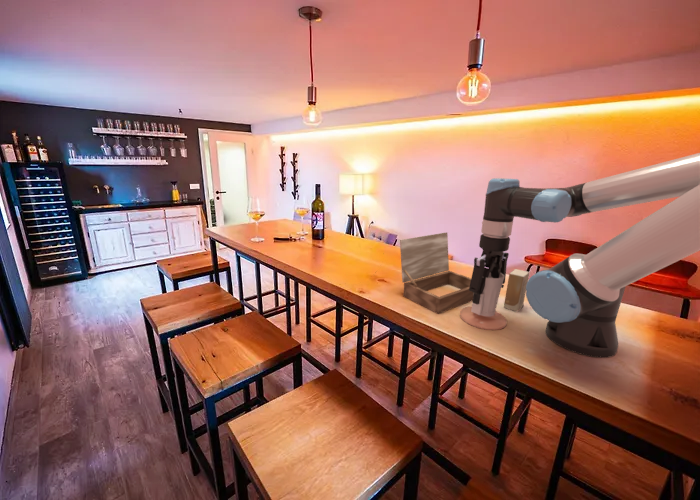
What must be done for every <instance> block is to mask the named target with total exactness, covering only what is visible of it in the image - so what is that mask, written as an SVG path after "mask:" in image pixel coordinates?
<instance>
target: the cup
mask: <svg viewBox="0 0 700 500" xmlns="http://www.w3.org/2000/svg"><path fill="white" fill-rule="evenodd" d="M504 277H505V276H504V275H503V274H502V273H500V275H499V278H493V277H491V272H490V273H489V276H488V278H487V277H486V281H485V287H484V290H483V294H484V298H483V305H482V311H481V315H482V316H494V315H495V311H496V312H497V307H496V306H497V305H498V302H499V298H500V294H501V289H502V288H501V287H502V285H504V284H503V281H504ZM505 278H506V277H505ZM473 295H474V293H473Z"/></svg>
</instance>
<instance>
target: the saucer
mask: <svg viewBox="0 0 700 500" xmlns="http://www.w3.org/2000/svg"><path fill="white" fill-rule="evenodd" d="M471 309H472V306H466V307H463V308H462V309H460V312H459V317H460V319H461V320H462V321H463V322H464V323H465V324H467V325H470V326H471V327H475V328H477V329H481V330H488V331H499V330H501V329H504V328H505V327H507V323H508V320H507V318H506V317H505V316H504V315H503V314H501V313H500V312H498V311H497V310H496V311H495V315H494V316H482V315H478V314H476V313H473V312H471Z"/></svg>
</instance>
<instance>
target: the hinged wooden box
mask: <svg viewBox="0 0 700 500" xmlns="http://www.w3.org/2000/svg"><path fill="white" fill-rule="evenodd" d="M448 236H449V235H448V232H441V233H434V234H428V235H423V236H417V237H415V236H414V237H410V238H402V239H399V247H400V248H399V249H400V260H401V261H400V263H401V267H400V268H401V279H402V280H401V281H402V283H403V294H402V297H404V298H406V299H408V300H409V301H412V302H414V303H416V304H418V305H420V306H421V307H424V308H426V309H427V310H430V311H431V312H434V313H436V314H438V315H439V314H442V313H444V312H446V311H449V310H452V309H454V308H456V307H460V306H462V305H465V304H466V303H470V302H473V292H471V291H469V287H470V282H471V278H472V277H468V276H466V275H463V274H460V273H457V272H454V271H451V270H450V268H449V267H450V266H449V265H450V262H449V240H448V239H449V238H448ZM448 285H450V286H452V287H454V288H457V289H458V290H455V291H451V292H449V293H447V294H444V295H440V296H438V295H436V294H434V293H432V292H429V291H431V290H433V289H438V288H441V287H443V286H448Z"/></svg>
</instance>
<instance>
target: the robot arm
mask: <svg viewBox="0 0 700 500" xmlns="http://www.w3.org/2000/svg"><path fill="white" fill-rule="evenodd" d="M673 198H674V200H672V201H670V202H669V203H667V204H666V205H664V206H663V207H661V208H659V209H657V210H656V211H654V212H653V213H651V214H649V215H648V216H646V217H644V218H643V219H641V220H640V221H638V222H637V223H635V224H633V225H632V226H630V227H629V228H627V229H626V230H624V231H622V232H621V233H619V234H617V235H615V236H614V237H612V238H611V239H609V240H608V241H606V242H605V243H603V244H601V245H599V246H598V247H597V248H594V249H593V250H591V251H590V252H589V253H587V254H583V253H573V254H570V255H569V256H568V257H566V258H564V259H563V260H561V261H560V262H558V263H556V264H555V265H553V266H552V267H551V268H549V269H546V270H541V271H537V272H536V273H534V274H533V275H531V276H530V277H529V278H528V282H527V285H526V293H525V297H526V300H527V302H528V305H529V306H530V307H531V309H532V310H533V311H534V312H535V313H536V314H537V316H540V317H541V318H542V319H544V320H547V323H546V327H545V331H544V333H545V335H546V336H547V337H548V339H549V340H551V341H552V342H553V343H555V344H556V345H558V346H559V347H562V348H564V349H566V350H568V351H571V352H573V353H577V354H580V355H584V356H587V357H592V358H600V359H601V358H610V357H611V358H612V357H613V356H615V355H616V354H617V351H618V347H619V339H618V332H617V326H616V320H617V317H618V314H619V311H620V306H621V303H622V300H623V296H624V293H625V290H626V286H629V285H631V284H633V283H636V282H637V281H640V280H641V279H643V278H645V277H647V276H649V275H652V274H653V273H656V272H658V271H660V270H662V269H665V268H667V267H668V266H670V265H673V264H674V263H677V262H679V261H680V260H683V259H685V258H687V257H689V256H691V255H694V254H696V253H698V252H699V251H700V152H697V153H694V154H693V153H692V154H690V155H687V156H686V155H685V156H683V157H678V158H675V159H671V160H667V161H663V162H659V163H657V164H652V165H648V166H645V167H641V168H640V167H639V168H637V169H634V170H633V169H632V170H629V171H625V172H621V173H618V174H614V175H611V176H610V175H609V176H605V177H602V178H598V179H594V180H591V181H588V182H584V183H579V184H575V185H571V186H568V187H552V188H551V187H550V188H549V187H548V188H547V187H545V188H544V187H543V188H537V187H534V188H533V187H523V186H520V180H519V179H518V178H500V177H497V178H491V179H490V180H488V184H487V188H486V192H485V201H484V210H483V211H484V212H483V217H482V222H481V233H482V234H480V237H479V243H478V244H479V245H478V247H479V248H480V249H482V253H481V255H480V257H474V259H473V270H472V273H471V277H470V278H471V282H470V287H469V291H471V292H473V293H474V295H473V301H471V302H472V303H471V307H472V309H471V312H473V313H476V314H478V315H481V311H482V305H483V298H484V294H483V290H484V287H485V281H486V277H487V278H488V276H489V273H490V272H491V277H493V278H499V275H500V273H502V274H503V275H504V276H505V277H504V281H503V284H502V287H501V289H504V287H505V285H504V284H505V283H506V275H507V265H508V258H509V253H508V252H507V251H508V250H509V248H510V242H511V238H510V236H511V235H512V230H513V224H514V218H521V219H526V220H533V221H539V222H541V223H560V222H562V221H563V220H564V219H565V218H567V217H568V218H569V217H570V218H572V217H573V218H574V217H578V216H582V215H585V214H590V213H596V212H601V211H606V210H608V211H609V210H612V209H619V208H624V207H629V206H634V205H640V204H646V203H652V202H658V201H662V200H668V199H673ZM496 308H497V306H496Z"/></svg>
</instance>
